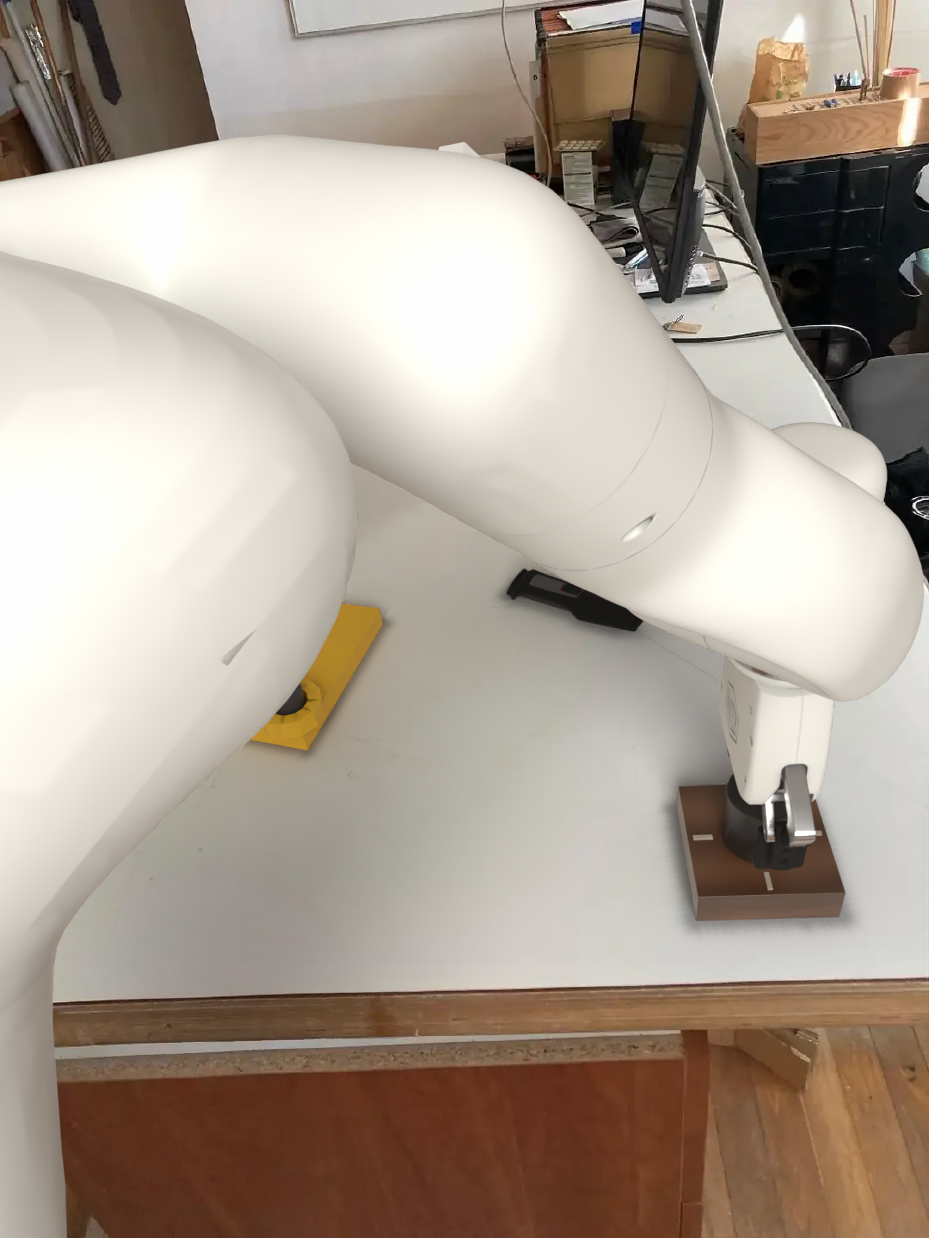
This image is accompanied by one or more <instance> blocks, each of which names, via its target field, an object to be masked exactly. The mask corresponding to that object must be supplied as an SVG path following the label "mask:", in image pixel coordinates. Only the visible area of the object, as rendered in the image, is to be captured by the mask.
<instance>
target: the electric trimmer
mask: <svg viewBox="0 0 929 1238" xmlns="http://www.w3.org/2000/svg"><path fill="white" fill-rule="evenodd" d="M506 595H507V596H510V599H511V600H516V599H517V598H520V597H521V598H525V599H528V600H531V601H535V602H538V603H541V604H544V605H548V606H550V607H553V608H556V609H560V610H562V611H566V612H570V613H571V614H572V616H573V617H574V618H575V619H576V620H578V621H580V622H585V623H589V624H592V625H593V624H594V625H598V626H603V627H607V628H613V629H618V630H621V631H625V632H626V631H627V632H637V630H638V629H639V628H640V627H641V625H642V624H643V622H645V621H644V620H642V619H640V618H638V617H637V616H635V615H634V614H632V613H631V612H630V611H629V610H628V609H627V608H625V607H623V606H620V605H618V604H616V603H613V602H611V601H609V600H606V599H604V598H602V597H600V596H598V595H596V594H594V593H592V592H590V591H587V590H585V589H582V588H580V587H578V586H576V585H574V584H571V583H569V582H567V581H565V580H563V579H562V578H560V577H557V576H556V577H555V576H553V575H550V574H547V573H545V572H542V571H539V570H537V569H534V568H532V569H529V570H527V568H522V569H521V570H520V571H519V572H518V573H517V575H516V576H515V577H514V579H513V580H512V581H511V583H510V585H509V586H508V588H507V590H506Z"/></svg>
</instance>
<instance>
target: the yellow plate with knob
mask: <svg viewBox="0 0 929 1238" xmlns="http://www.w3.org/2000/svg"><path fill="white" fill-rule="evenodd" d="M382 617H383V616H382V613H381V609H380V608H379V607H372V606H366V605H365V606H364V605H356V604H349V603H348V604H347V603H343V602H342V604H341V607H340V610H339V613H338V616H337V619H336V621H335V623H334V625H333V627H332V629H331V631H330V633H329V635H328V637H327V639H326V641H325V642H324V644H323V646H322V648H321V650H320V652H319V654H318V656H317V658H316V660H315V661H314V663H313V664H312V666H311V667H310V669H309V671H308V672H307V674H306V675H305V676H304V678H303V679H302V681H301V682H300V684H301V687H302V690H303V693H304V697H305V705H304V707H303V708H302V709H301V710H299V711H297V712H296V713H294V714H290V715H285V716H282V715H278V714H276V713H275V715H274V716H273V717H272V718H271V719H270V720H269V721H268V723H267V724H266V725H265V726H264V727H263V728H262V729H261V730H259V731H258V732H257V733H256V734H255V735H254V736H253V737H252V738H251V739H250V740H249V741H254V742H260V743H265V744H271V745H276V746H280V747H281V746H282V747H287V748H292V749H297V750H303V751H309V749H310V747H311V746H312V744H313V742H314V741H315V739H316V737H317V736H318V734H319V733H320V731H321V729H322V727H323V726H324V724H325V722H326V721H327V719H328V717H329V716H330V714H331V712H332V711H333V710H334V707H335V706H336V704H337V702H338V701H339V699H340V698H341V696H342V694H343V692H344V691H345V689H346V687H347V685H348V684H349V683H350V681H351V679H352V677H353V675H354V674H355V672H356V671H357V669H358V668H359V665H360V664H361V662H362V661H363V659H364V657H365V656H366V654H367V652H368V650H369V649H370V647H371V646H372V644H373V642H374V640H375V639H376V637H377V635H378V634H379V632H380V630H381V629H382V627H383V625H384V621H383V618H382Z"/></svg>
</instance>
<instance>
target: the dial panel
mask: <svg viewBox="0 0 929 1238" xmlns="http://www.w3.org/2000/svg"><path fill="white" fill-rule="evenodd" d="M726 786H727V783H726V784H703V785H701V784H700V785H679V786H678V788H677V803H676V813H677V818H678V825H679V830H680V836H681V842H682V848H683V853H684V859H685V864H686V871H687V877H688V882H689V883H688V884H689V888H690V894H691V899H692V900H691V901H692V906H693V911H694V917H695V918H694V919H695V921H696V922H708V921H709V922H710V921H711V922H713V921H743V920H748V921H749V920H776V919H777V920H781V919H785V920H786V919H818V918H819V919H821V918H840V917H841V916H840V915H841V912H842V909H843V905H844V900H845V897H846V890H845V886H844V884H843V881H842V877H841V874H840V871H839V867H838V865H837V862H836V858H835V856H834V851H833V850H832V845H831V842H830V839H829V837H828V833H827V830H826V828H825V824H824V821H823V818H822V814H821V812H820V808H819V805H818V802H817V798H816V799H815V800H814V801H812V802H811V807H812V814H813V820H814V826H815V832H816V839H815V841H814V842H812V843H811V846H807V850H806V855H805V860H804V864H803V866H802V867H799V868H792V869H790V870H781V871H778V870H773V869H756V868H755V866H754V863H751V862H748V861H745V860H743V859H741V858H739V857H737V856H736V855H735V854H733V853H732V852H731V851H730V850H729V849H728V847H727V846H726V844H725V843H724V840H723V837H722V823H723V814H724V804H725V795H726Z"/></svg>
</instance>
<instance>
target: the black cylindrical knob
mask: <svg viewBox="0 0 929 1238" xmlns="http://www.w3.org/2000/svg"><path fill="white" fill-rule="evenodd" d="M304 705H305V697H304V693H303V690H302V687H301V684H300V683H299V685H298V686H297V688H296V689H295V690H294V692H293V693H292V695H291V696H290V697H289V699H288V700H287V701H286V702H285V703H284V704H283V706H282V707H281V708H280V709H279V710H278V711H277V712H276V714H278V715H282V716H285V715H290V714H294V713H296V712H297V711H299V710H301V709H302V708H303V707H304Z"/></svg>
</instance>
